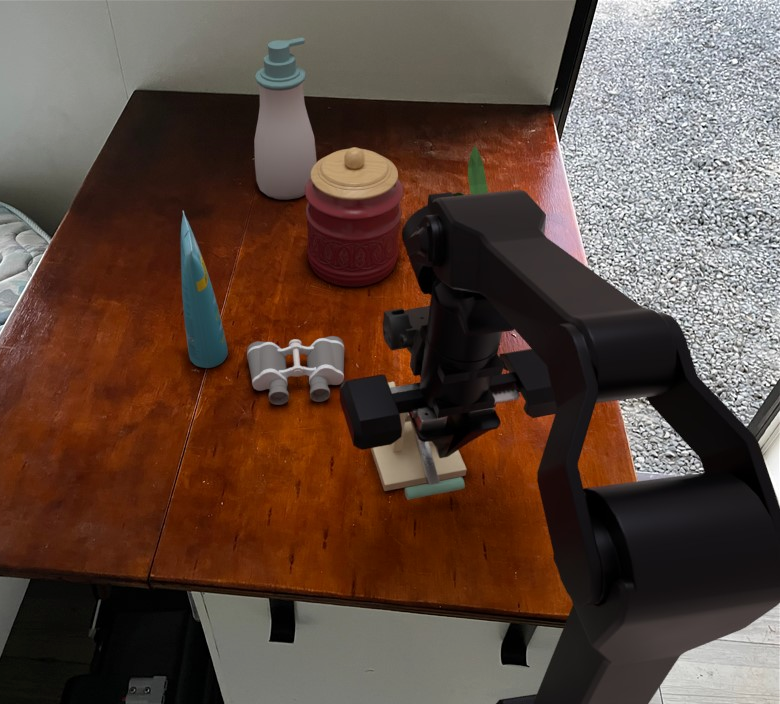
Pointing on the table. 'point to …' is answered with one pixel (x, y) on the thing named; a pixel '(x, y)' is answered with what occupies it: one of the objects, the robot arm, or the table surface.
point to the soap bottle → (283, 125)
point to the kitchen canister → (353, 217)
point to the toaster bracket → (411, 460)
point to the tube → (200, 306)
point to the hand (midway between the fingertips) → (441, 453)
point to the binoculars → (296, 367)
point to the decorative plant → (475, 174)
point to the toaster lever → (430, 473)
